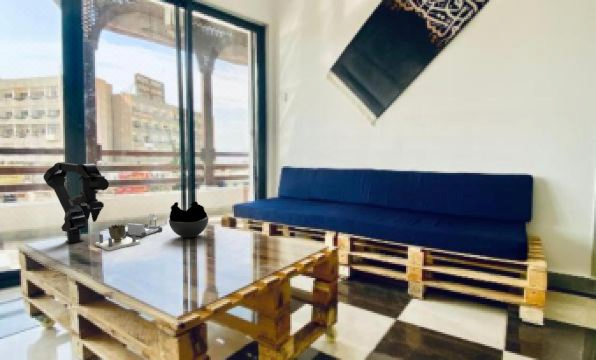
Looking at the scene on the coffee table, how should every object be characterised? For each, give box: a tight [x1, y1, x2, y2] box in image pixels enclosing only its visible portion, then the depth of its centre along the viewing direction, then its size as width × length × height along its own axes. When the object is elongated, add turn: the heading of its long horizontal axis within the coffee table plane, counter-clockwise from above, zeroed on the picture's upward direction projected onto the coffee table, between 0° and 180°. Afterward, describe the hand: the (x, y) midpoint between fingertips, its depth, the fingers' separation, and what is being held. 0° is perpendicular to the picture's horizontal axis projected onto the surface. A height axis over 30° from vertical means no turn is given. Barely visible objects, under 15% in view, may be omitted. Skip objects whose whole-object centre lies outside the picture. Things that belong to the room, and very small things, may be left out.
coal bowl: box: [168, 201, 209, 239], centre depth 181 cm, size 20×20×19 cm
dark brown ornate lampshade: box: [107, 224, 126, 242], centre depth 169 cm, size 8×7×8 cm
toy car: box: [126, 213, 163, 238], centre depth 191 cm, size 18×10×12 cm
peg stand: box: [95, 229, 141, 251], centre depth 169 cm, size 15×15×5 cm
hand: (90, 220), depth 169 cm, fingers open, 9 cm apart
